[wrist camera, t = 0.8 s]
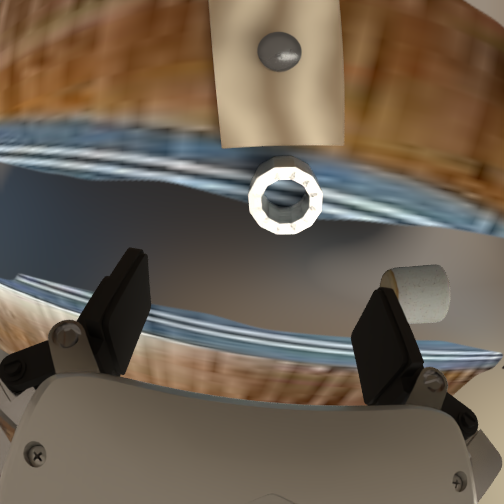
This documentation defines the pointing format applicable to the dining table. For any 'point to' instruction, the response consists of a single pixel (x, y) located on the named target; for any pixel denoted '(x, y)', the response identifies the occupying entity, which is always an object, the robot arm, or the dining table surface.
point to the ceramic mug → (420, 291)
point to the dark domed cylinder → (279, 51)
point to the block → (278, 73)
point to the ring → (285, 217)
